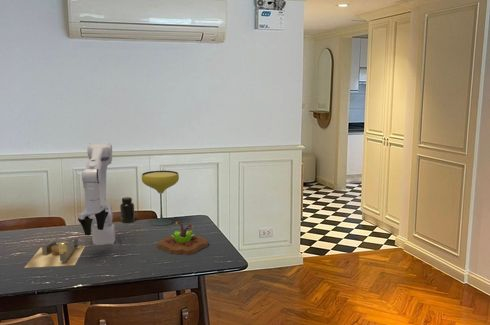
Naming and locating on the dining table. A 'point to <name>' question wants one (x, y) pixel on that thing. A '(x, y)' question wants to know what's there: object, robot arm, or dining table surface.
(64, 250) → the press lever
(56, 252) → the brown cylinder
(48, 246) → the gray block
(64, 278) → the dining table surface
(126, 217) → the supplement bottle
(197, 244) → the plant
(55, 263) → the board
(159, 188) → the cocktail glass
